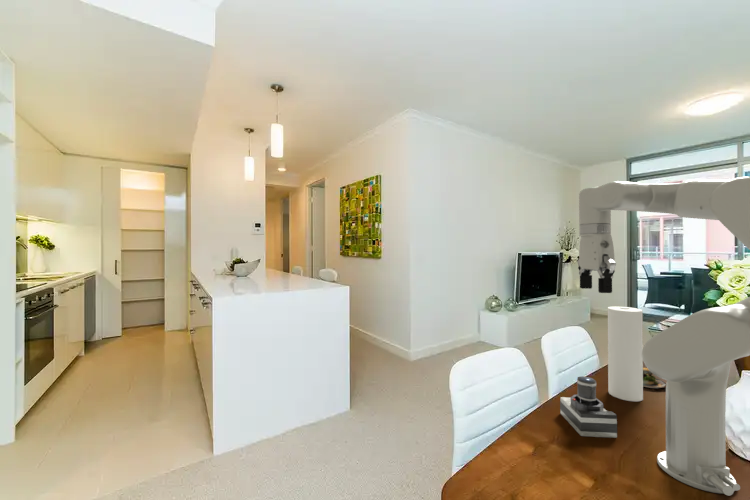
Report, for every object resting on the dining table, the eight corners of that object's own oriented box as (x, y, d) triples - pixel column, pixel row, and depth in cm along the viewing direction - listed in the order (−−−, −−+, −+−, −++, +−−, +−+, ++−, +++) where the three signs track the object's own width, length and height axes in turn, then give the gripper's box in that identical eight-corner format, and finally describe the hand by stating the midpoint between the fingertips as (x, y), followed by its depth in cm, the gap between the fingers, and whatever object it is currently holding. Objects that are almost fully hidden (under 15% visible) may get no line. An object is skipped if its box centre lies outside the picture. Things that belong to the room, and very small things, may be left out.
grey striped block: (617, 437, 87) (617, 410, 86) (580, 436, 88) (580, 409, 87) (591, 414, 99) (591, 391, 99) (560, 413, 100) (560, 389, 99)
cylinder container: (649, 402, 106) (649, 310, 106) (617, 400, 108) (616, 309, 108) (632, 390, 115) (632, 305, 115) (603, 388, 117) (602, 304, 117)
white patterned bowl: (620, 383, 121) (620, 363, 121) (630, 376, 128) (630, 357, 128) (662, 395, 112) (662, 373, 112) (671, 386, 119) (670, 365, 119)
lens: (600, 411, 90) (599, 382, 90) (582, 411, 91) (582, 382, 91) (590, 403, 95) (590, 376, 95) (574, 403, 95) (573, 375, 95)
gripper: (628, 228, 84) (629, 294, 84) (591, 232, 102) (592, 287, 102) (598, 229, 85) (598, 294, 85) (566, 232, 102) (566, 286, 103)
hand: (595, 290), depth 94 cm, fingers open, 9 cm apart
